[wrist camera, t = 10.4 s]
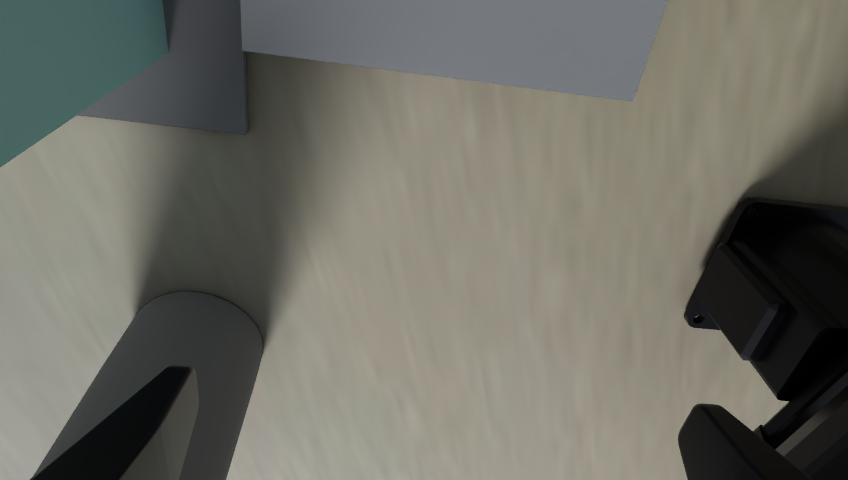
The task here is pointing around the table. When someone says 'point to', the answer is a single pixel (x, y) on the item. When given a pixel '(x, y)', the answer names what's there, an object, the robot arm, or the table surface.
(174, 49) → the pad
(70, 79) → the plug
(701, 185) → the table surface
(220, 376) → the bottle
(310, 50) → the grey square socket block
